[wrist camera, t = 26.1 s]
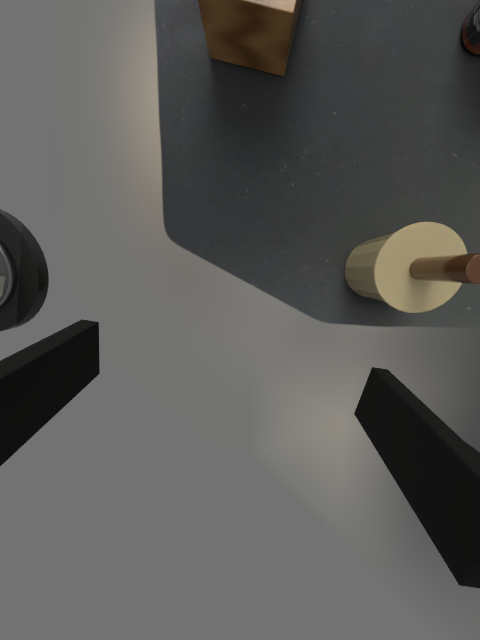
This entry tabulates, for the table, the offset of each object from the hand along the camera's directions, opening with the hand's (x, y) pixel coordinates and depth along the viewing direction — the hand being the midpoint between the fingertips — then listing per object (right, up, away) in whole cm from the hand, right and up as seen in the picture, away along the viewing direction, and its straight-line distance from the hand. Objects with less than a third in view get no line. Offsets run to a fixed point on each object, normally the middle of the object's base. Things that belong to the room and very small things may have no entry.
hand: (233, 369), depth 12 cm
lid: (+21, +8, +17) cm, 29 cm away
